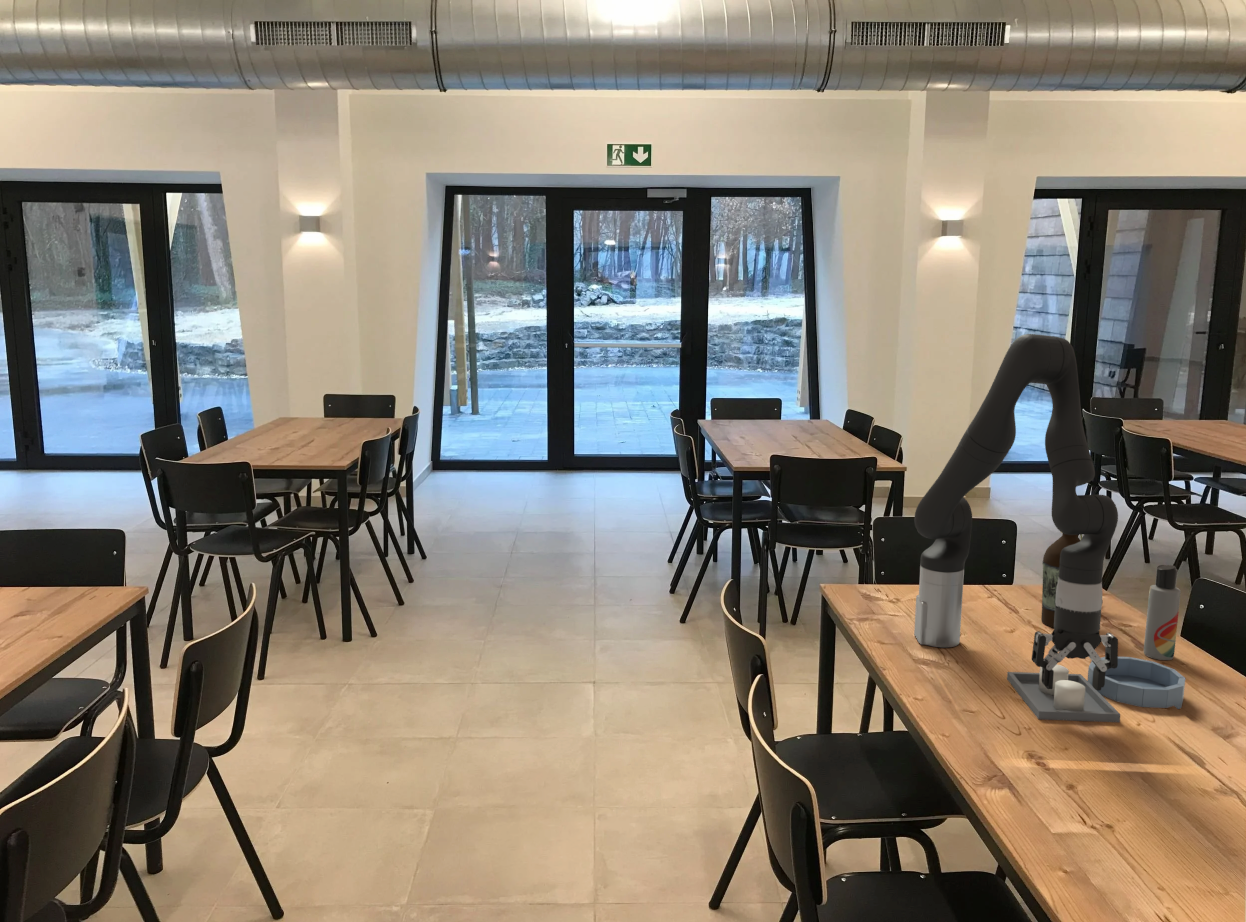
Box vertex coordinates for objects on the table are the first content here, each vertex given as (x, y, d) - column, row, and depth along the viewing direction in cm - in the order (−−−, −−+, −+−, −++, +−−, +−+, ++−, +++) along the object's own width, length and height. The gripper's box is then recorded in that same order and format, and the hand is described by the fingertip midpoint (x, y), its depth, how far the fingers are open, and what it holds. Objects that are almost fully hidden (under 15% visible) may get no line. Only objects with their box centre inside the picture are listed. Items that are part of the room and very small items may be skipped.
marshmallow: (1043, 695, 175) (1045, 673, 174) (1034, 684, 180) (1036, 663, 179) (1070, 696, 175) (1072, 674, 174) (1061, 685, 179) (1063, 664, 179)
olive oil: (1061, 613, 224) (1069, 514, 220) (1098, 627, 214) (1107, 523, 210) (1028, 619, 220) (1035, 518, 216) (1064, 634, 210) (1073, 528, 206)
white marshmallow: (1059, 713, 167) (1061, 690, 166) (1049, 702, 172) (1051, 679, 171) (1087, 715, 167) (1089, 691, 166) (1077, 703, 172) (1079, 680, 171)
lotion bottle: (1178, 661, 194) (1187, 570, 190) (1148, 659, 195) (1157, 569, 192) (1168, 651, 199) (1177, 562, 196) (1139, 649, 200) (1148, 561, 197)
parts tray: (1038, 724, 165) (1039, 711, 165) (1006, 683, 183) (1007, 671, 183) (1119, 727, 164) (1120, 714, 164) (1079, 686, 182) (1080, 674, 181)
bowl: (1108, 710, 171) (1110, 687, 170) (1075, 676, 186) (1077, 655, 186) (1199, 713, 169) (1201, 690, 168) (1157, 679, 185) (1160, 657, 184)
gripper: (1110, 597, 169) (1104, 681, 172) (1030, 596, 170) (1025, 679, 173) (1128, 610, 162) (1121, 697, 164) (1044, 609, 163) (1039, 695, 165)
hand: (1072, 688), depth 169 cm, fingers open, 8 cm apart
